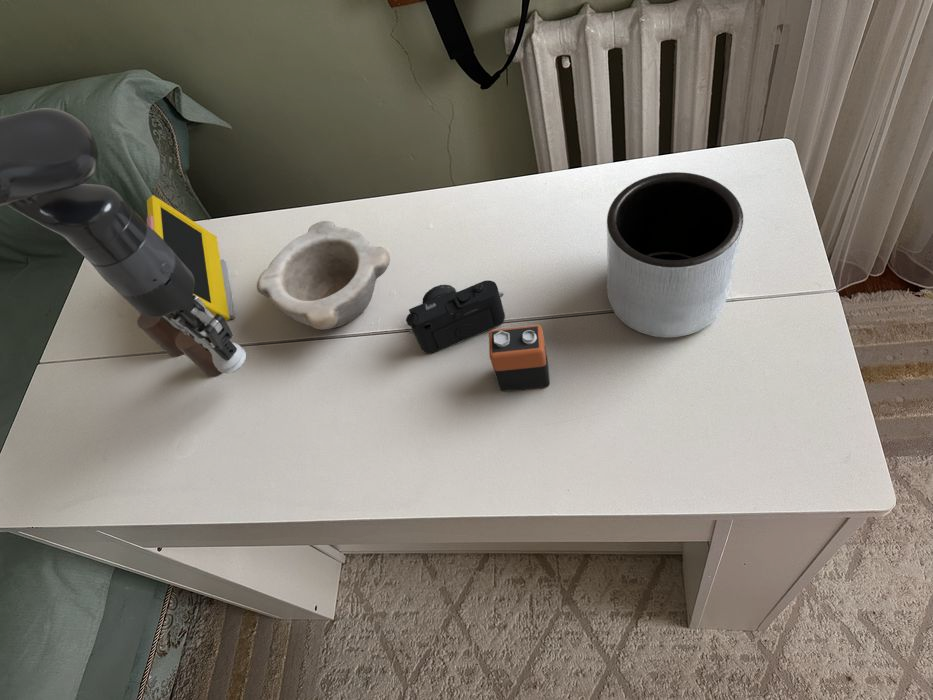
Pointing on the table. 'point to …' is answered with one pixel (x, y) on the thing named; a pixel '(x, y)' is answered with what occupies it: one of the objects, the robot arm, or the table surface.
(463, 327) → the camera
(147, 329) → the far post
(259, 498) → the table surface
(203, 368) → the near post
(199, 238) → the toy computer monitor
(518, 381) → the battery
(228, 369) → the rook chess piece
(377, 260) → the mortar
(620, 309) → the planter
